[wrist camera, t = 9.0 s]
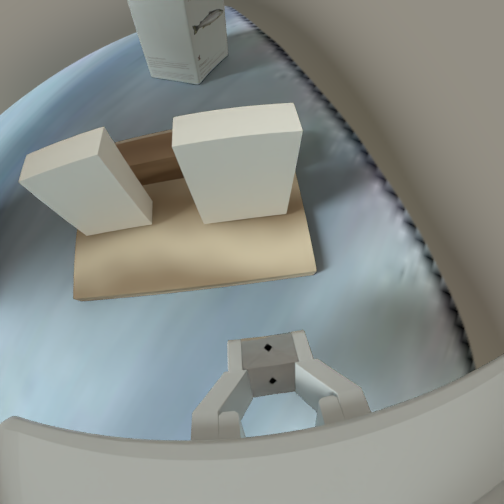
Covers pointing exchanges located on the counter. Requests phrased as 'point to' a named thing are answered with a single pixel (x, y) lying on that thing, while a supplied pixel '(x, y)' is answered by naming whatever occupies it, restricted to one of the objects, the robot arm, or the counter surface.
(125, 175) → the block
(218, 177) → the white rectangular block
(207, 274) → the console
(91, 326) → the counter surface
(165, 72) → the supplement box
